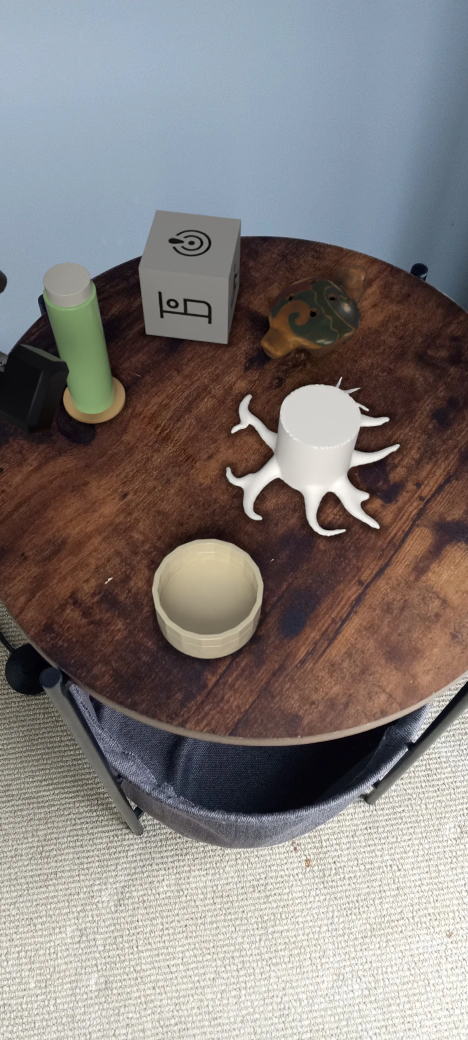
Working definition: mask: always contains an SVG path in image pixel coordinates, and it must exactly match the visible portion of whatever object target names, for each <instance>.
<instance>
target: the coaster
mask: <svg viewBox="0 0 468 1040" xmlns="http://www.w3.org/2000/svg"><path fill="white" fill-rule="evenodd" d="M112 378H113V384H114V389H115V401H114V403H113V404H112V405H111V407H110V408H108V409H107V410H105V411H103V412H101V413H97V414H86V413H83V412H81V411H79V410H77V409H76V408H75V407H74V406H73V404H72V401H71V397H70V394H69V390H68V386H67V387H66V388H65V390H64V391H63V397H62V399H63V400H62V401H63V406H64V408H65V411H66V412H67V413H68V415H69V416H70V417H72V418H73V419H75V420H76V421H78V422H82V423H85V424H99V423H103V422H107V421H109V420H111V419H113V418H114V417H116V416H117V415H119V413H120V412H121V411H122V410H123V408H124V406H125V404H126V399H127V398H126V391H125V388H124V385H123V384H122V383H121V382H120V381H119V380H118V378H116V377H114V376H112Z"/></svg>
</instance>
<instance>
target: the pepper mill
mask: <svg viewBox="0 0 468 1040" xmlns="http://www.w3.org/2000/svg"><path fill="white" fill-rule="evenodd" d="M91 278H92V277H91V274H90V271H89V270H88V269H87V268H86V267H85V266H84V265H81V264H79V263H76V262H62V263H58V264H55V265H54V266H52V267H50V268H48V269H47V270H46V271H45V273H44V274H43V278H42V285H43V290H42V298H43V301H44V305H45V309H46V312H47V316H48V320H49V324H50V326H51V331H52V334H53V338H54V343H55V346H56V349H57V353H58V356H59V357H58V358H59V359H61V360H63V361H65V362H66V363H67V366H68V368H69V371H70V372H69V375H68V378H67V381H66V386H67V387H68V390H69V394H70V397H71V401H72V404H73V406H74V407H75V408H76V409H77V410H79V411H81V412H83V413H86V414H97V413H101V412H103V411H105V410H107V409H108V408H110V407H111V405H112V404H113V403H114V401H115V389H114V384H113V378H112V377H113V373H112V368H111V362H110V357H109V353H108V347H107V341H106V337H105V331H104V325H103V319H102V315H101V310H100V309H101V308H100V304H99V298H98V293H97V289H96V288H97V287H96V285H95V283H94V282H93V280H92V279H91Z"/></svg>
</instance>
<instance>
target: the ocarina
mask: <svg viewBox="0 0 468 1040" xmlns="http://www.w3.org/2000/svg"><path fill="white" fill-rule="evenodd" d="M367 283H368V273H367V270H366V269H365V267H364V266H361V265H357V264H355V265H353V264H352V265H351V264H350V265H346V266H342V267H341V268H340V269H339V270H337V271H336V273H335V274H334V276H333V277H332V280H330V279H328V278H326V277H323V276H319V275H317V276H316V275H314V276H308V277H305V278H302V279H299V280H297V281H295V282H293V283H290V284H289V285H288V286H286V287H285V288H283V289H282V290H281V291H280V292H279V293H278V294H277V295H276V296H275V298H274V299H273V301H272V302H271V304H270V307H269V310H268V324H269V329H268V330H267V332H266V333H265V335H264V336H263V337H262V338H261V339H260V346H261V347H262V349H263V351H264V353H265V354H266V355H267V356H268V357H270V358H271V359H273V360H278V359H282V358H284V357H285V356H286V355H288V354H290V353H291V352H293V351H294V350H298V349H303V350H306V351H308V353H309V355H311V356H312V357H313V358H314V359H316V360H319V359H322V358H324V357H325V356H327V355H329V354H330V353H332V352H333V351H334V350H336V349H337V348H338V347H339V346H341V345H342V344H345V343H348V342H350V341H351V339H352V338H353V337H354V336H355V334H356V333H357V331H358V329H359V328H360V327H359V326H360V323H361V312H360V309H359V307H358V304H359V302H360V301H361V299H362V297H363V295H364V293H365V291H366V288H367Z"/></svg>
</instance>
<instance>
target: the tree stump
mask: <svg viewBox="0 0 468 1040" xmlns="http://www.w3.org/2000/svg"><path fill="white" fill-rule="evenodd" d="M342 379H343V376H341V377H340V379H339V380H338V382H337V383H336V384H335V386H333V385H327V384H324V383H323V384H318V383H317V384H308V385H305V386H301V387H299V388H296V389H295V390H294V391H291V392H290V394H288V395H287V396H286V397H285V398H284V400H283V402H282V404H281V405H280V410H279V419H278V426H277V432H274V431H271V430H270V429H269V428H268V427H267V426H266V425H265V424H264V423H263V422H262V421H261V419H259V418H258V417H257V416H255V415H254V414H252V413H251V411H250V409H249V404H250V401H251V400H252V399H253V396H252V394H250V393H249V394H247V395H246V396H245V397H244V398H243V399H242V401H241V402H239V407H238V414H239V419H240V423H239V424H236V425H235V426H233V427H232V429H231V431H230V433H231V434H234V433H236V432H238V431H240V430H243V429H246V428H247V427H249V425H251V426H253V427H254V429H255V430H256V431H257V433H258V435H259V436H260V438H261V439H262V441H264V443H265V444H266V445H267V446H268V447H269V448H270V449H271V451H272V453H273V455H272V456H271V458H270V459H269V460H268V461H267V462H266V463H265V464H264V465H263V467H261V468H260V469H259V470H258V471H256V472H254V473H248V474H246V475H244V476H242V477H236V476H234V474H233V473H232V468H230V466H227V467H226V468H225V470H226V473H225V476H226V478H227V480H228V483H230V484H232V485H234V486H236V487H239V488H241V489H242V490H243V499H242V506H243V509H244V513H245V514H246V516H248V517H249V518H250V519H252V520H254V521H262V520H263V517H262V516H261V515H259V514H258V513H255V511H254V503H255V502H256V499H257V497H258V496H259V495H260V493H261V491H262V490H263V489H264V488H265V487H266V486H267V485H268V484H270V483H271V482H272V481H274V480H275V479H278V478H279V479H280V480H282V481H283V482H284V483H286V484H287V485H288V486H289V487H291V488H292V489H294V490H297V491H299V492H300V493H301V494H302V496H303V499H304V505H305V507H304V508H305V515H306V516H305V517H306V520H307V522H308V525H309V526H310V527H311V528H312V530H313V531H314V532H316V533H318V534H319V535H322V536H327V537H330V536H335V535H339V534H342V533H345V532H346V531H347V530H346V529H345V528H343V529H342V528H341V529H334V530H327V529H324V528H322V527H321V526H320V525H319V522H318V521H317V513H318V509H319V507H320V504H321V502H322V500H323V497H324V496H325V495H326V494H327V493H333V494H334V495H336V497H338V499H339V500H340V502H341V504H342V505H343V507H344V508H345V510H346V511H347V512H348V513H349V514H350V515H352V516H353V517H354V518H355V519H358V520H359V521H361V522H363V523H365V524H367V525H369V526H370V527H371V528H375V529H378V530H379V529H380V525H379V523H378V521H376V520H375V519H374V518H373V517H371V516H369V515H368V514H367V513H366V512H365V511H364V509H363V508H362V505H361V503H362V502H363V501H367V500H368V499H370V494H369V493H368V492H366V491H363V490H360V489H358V488H356V487H355V486H354V485H353V484H352V483H351V482H350V479H349V477H348V472H349V470H350V469H351V468H353V467H358V466H360V465H366V464H370V463H374V462H377V461H380V460H381V459H384V458H386V456H388V455H389V454H391V453H393V452H396V451H397V450H398V449H399V448H400V447H401V445H400V444H399V443H397V444H393V445H391V446H388V447H386V448H383V449H381V450H378V451H373V452H364V451H360V450H356V449H355V447H356V443H357V439H358V436H359V432H360V429H361V428H363V427H376V426H382V425H383V424H385V423H388V422H389V421H390V417H388V416H381V417H372V416H369V415H365V414H363V413H361V410H360V409H362V410H364V411H366V412H369V411H370V409H369V408H367V407H366V406H365V405H363V404H361V403H359V402H356V401H355V399H353V397H352V396H350V394H352V393H353V392H356V391H358V390H360V389H361V387H356V388H350V389H347V390H342V389H341V388H339V387H340V385H341V381H342Z"/></svg>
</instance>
